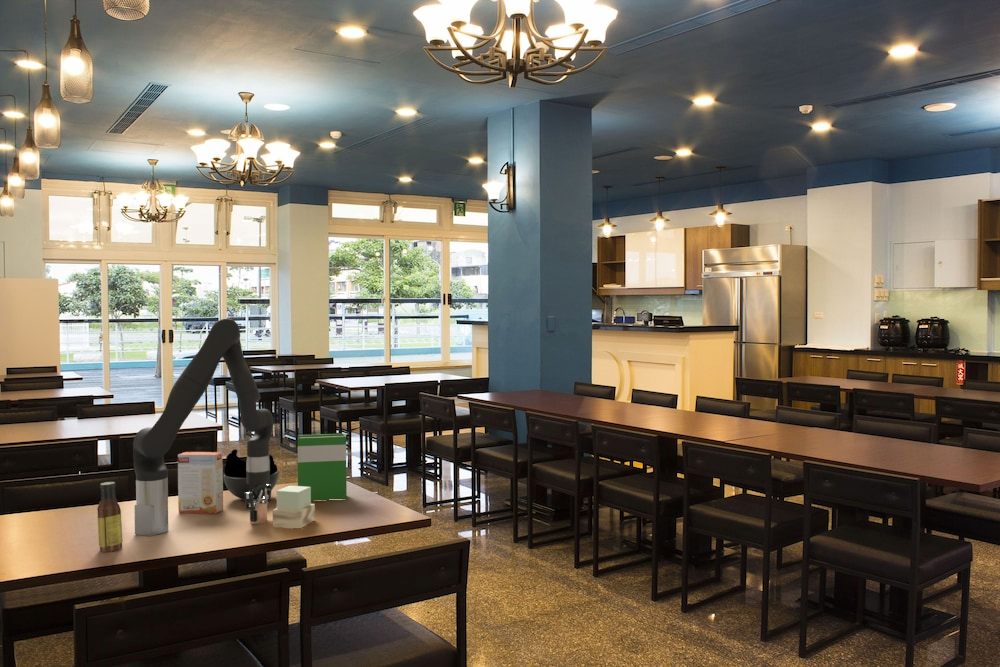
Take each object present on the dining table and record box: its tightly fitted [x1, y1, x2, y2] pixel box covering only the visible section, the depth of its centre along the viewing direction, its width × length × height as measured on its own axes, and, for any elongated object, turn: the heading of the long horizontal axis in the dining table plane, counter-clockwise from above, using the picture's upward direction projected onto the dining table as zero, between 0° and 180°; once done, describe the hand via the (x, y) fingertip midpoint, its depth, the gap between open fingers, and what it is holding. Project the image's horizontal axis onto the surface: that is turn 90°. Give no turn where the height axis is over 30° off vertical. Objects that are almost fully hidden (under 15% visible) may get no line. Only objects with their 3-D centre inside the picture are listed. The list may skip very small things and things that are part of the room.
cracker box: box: [177, 451, 224, 514], centre depth 269 cm, size 14×6×21 cm, turn 84°
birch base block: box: [272, 503, 316, 529], centre depth 253 cm, size 10×10×6 cm
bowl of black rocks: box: [223, 449, 280, 501], centre depth 287 cm, size 20×20×19 cm
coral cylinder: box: [249, 502, 268, 525], centre depth 255 cm, size 6×6×6 cm
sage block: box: [276, 485, 312, 511], centre depth 253 cm, size 8×8×6 cm
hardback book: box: [297, 433, 348, 501], centre depth 287 cm, size 18×7×24 cm, turn 103°
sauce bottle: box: [96, 481, 123, 553], centre depth 225 cm, size 6×6×20 cm
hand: (258, 518), depth 255 cm, fingers closed on coral cylinder, 5 cm apart
